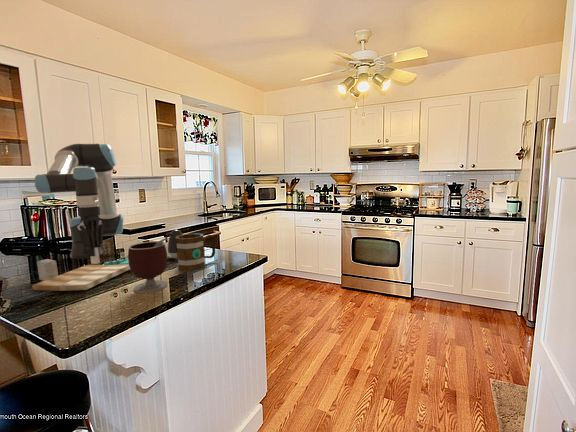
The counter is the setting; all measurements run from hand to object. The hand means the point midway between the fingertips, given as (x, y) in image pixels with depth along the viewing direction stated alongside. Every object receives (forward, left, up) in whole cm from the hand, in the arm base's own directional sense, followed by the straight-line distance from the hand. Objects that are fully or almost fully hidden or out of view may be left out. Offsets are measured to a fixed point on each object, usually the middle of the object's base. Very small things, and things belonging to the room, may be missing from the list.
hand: (95, 263), depth 127 cm
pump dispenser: (-43, +13, -9) cm, 45 cm away
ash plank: (-7, -5, -9) cm, 12 cm away
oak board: (-7, -17, -9) cm, 21 cm away
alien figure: (-35, -7, -10) cm, 37 cm away
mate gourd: (+1, +26, -9) cm, 27 cm away
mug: (-29, +31, -9) cm, 43 cm away
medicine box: (-5, -28, -9) cm, 30 cm away
